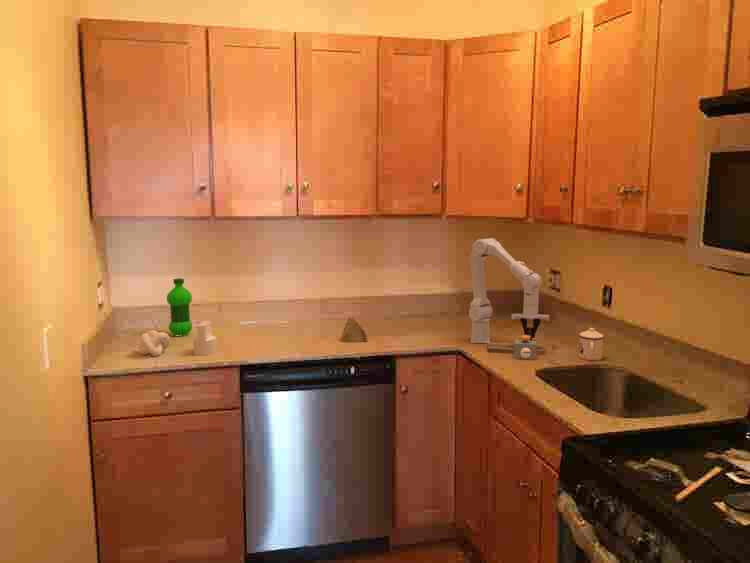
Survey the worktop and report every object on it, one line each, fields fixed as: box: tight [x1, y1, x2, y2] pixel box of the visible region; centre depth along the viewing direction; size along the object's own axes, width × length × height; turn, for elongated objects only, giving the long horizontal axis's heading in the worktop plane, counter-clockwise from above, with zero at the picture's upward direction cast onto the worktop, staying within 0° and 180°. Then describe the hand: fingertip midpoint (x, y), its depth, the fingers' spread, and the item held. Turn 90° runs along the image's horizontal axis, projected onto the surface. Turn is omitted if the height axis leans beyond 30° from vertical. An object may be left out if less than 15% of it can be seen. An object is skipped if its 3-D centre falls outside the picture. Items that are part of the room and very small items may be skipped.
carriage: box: [520, 326, 538, 346], centre depth 252 cm, size 6×6×8 cm
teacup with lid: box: [578, 327, 605, 361], centre depth 242 cm, size 12×9×12 cm
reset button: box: [520, 334, 530, 343], centre depth 243 cm, size 4×4×2 cm
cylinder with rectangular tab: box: [192, 320, 218, 357], centre depth 248 cm, size 9×9×12 cm
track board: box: [487, 343, 546, 355], centre depth 254 cm, size 9×22×2 cm, turn 81°
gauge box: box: [513, 339, 537, 360], centre depth 244 cm, size 7×8×6 cm
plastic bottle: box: [166, 278, 193, 337], centre depth 276 cm, size 10×10×25 cm
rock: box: [340, 317, 368, 343], centre depth 267 cm, size 11×9×10 cm
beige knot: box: [138, 329, 171, 357], centre depth 247 cm, size 11×12×9 cm
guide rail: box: [489, 341, 543, 348], centre depth 254 cm, size 2×21×1 cm, turn 81°
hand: (529, 337), depth 252 cm, fingers closed on carriage, 2 cm apart
